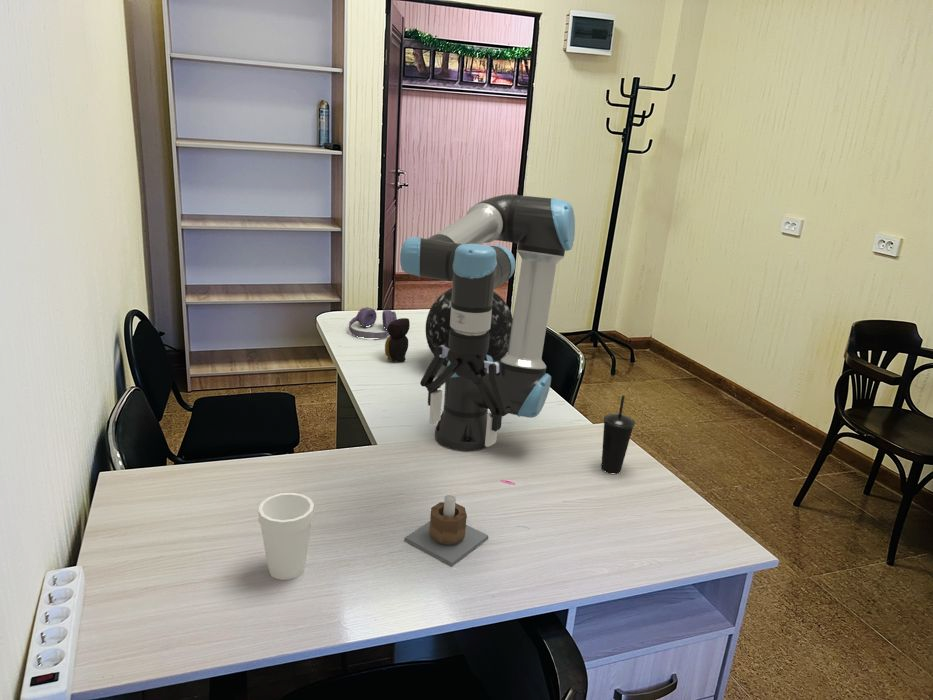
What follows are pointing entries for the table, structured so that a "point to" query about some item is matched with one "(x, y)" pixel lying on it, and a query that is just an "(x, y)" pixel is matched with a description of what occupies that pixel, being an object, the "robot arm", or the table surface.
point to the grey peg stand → (447, 551)
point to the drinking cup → (616, 440)
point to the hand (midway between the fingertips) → (461, 432)
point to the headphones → (371, 322)
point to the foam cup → (286, 533)
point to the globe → (498, 331)
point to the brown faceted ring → (447, 524)
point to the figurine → (397, 340)
